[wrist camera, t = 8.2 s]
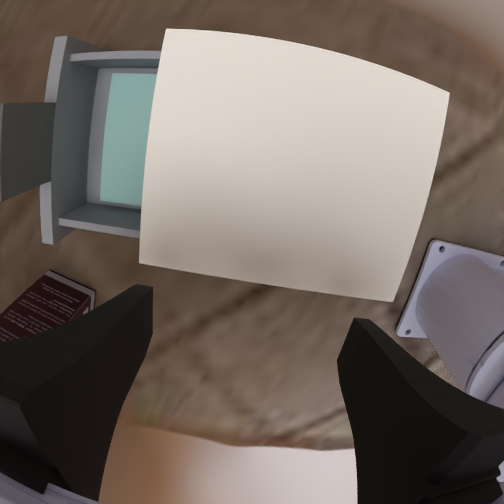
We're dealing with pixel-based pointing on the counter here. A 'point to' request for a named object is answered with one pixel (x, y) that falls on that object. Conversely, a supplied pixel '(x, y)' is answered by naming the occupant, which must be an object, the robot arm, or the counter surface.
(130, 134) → the tray
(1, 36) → the counter surface
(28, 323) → the supplement box
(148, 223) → the sleeve
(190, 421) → the counter surface
